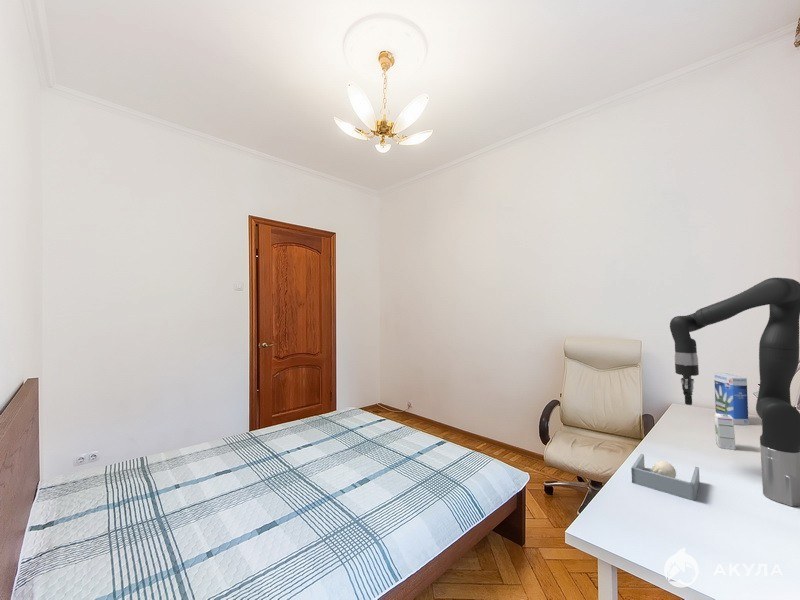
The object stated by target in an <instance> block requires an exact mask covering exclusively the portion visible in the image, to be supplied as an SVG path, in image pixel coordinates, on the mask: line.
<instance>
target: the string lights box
mask: <svg viewBox="0 0 800 600" xmlns="http://www.w3.org/2000/svg"><path fill="white" fill-rule="evenodd" d="M713 375H714V403H715V414H727V415H730V416H731V417H732V418H733V421H734V426H735V425H736V426H749V399H748V398H749V397H748V379H747V377H742V376H739V375H735V374H730V373H724V372H722V373H721V372H717V373H716V372H714V374H713Z"/></svg>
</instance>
